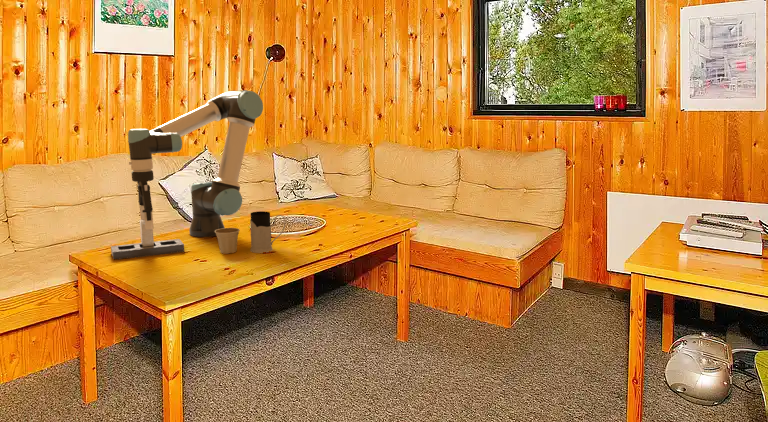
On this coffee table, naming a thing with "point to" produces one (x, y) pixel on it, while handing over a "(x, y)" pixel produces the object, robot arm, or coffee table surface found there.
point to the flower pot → (227, 239)
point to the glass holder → (262, 232)
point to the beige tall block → (146, 235)
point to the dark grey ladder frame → (147, 249)
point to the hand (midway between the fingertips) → (147, 225)
